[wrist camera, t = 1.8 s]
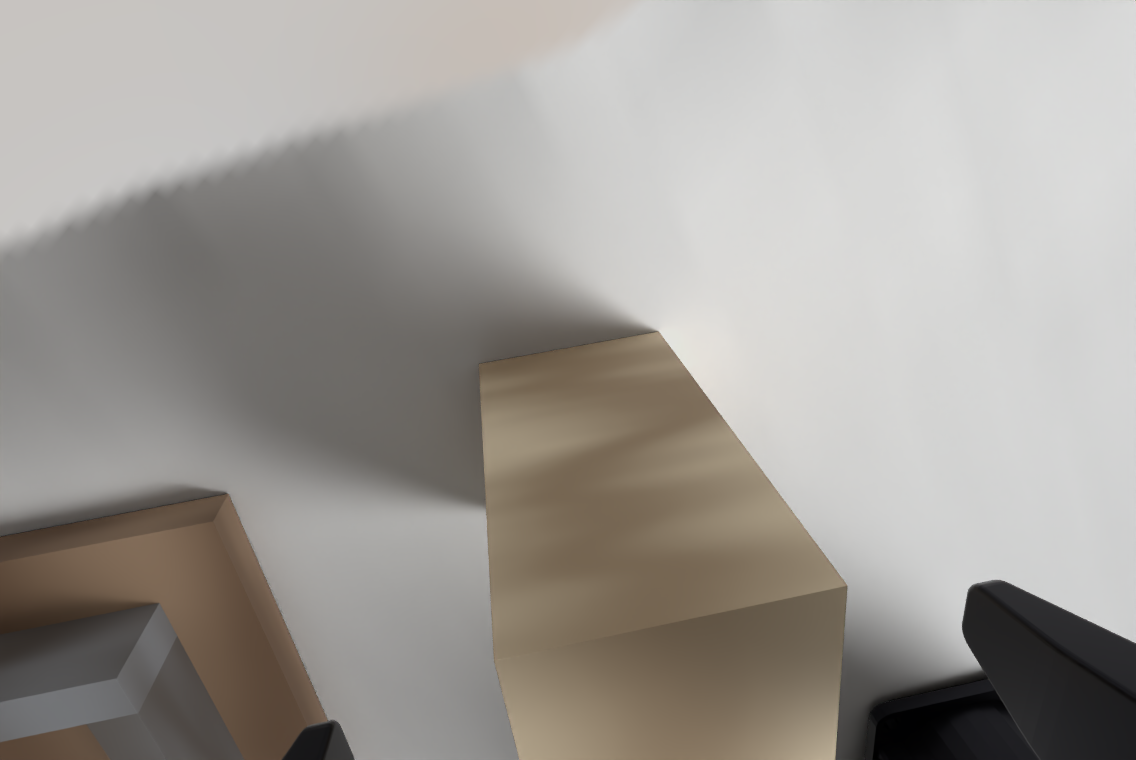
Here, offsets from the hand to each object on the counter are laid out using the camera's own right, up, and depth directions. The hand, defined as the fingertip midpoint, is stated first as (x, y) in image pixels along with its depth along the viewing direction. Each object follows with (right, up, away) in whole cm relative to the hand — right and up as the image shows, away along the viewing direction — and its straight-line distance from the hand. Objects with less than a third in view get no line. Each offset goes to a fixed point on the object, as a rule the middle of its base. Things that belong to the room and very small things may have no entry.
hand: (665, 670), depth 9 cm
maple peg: (-1, +3, +6) cm, 7 cm away
